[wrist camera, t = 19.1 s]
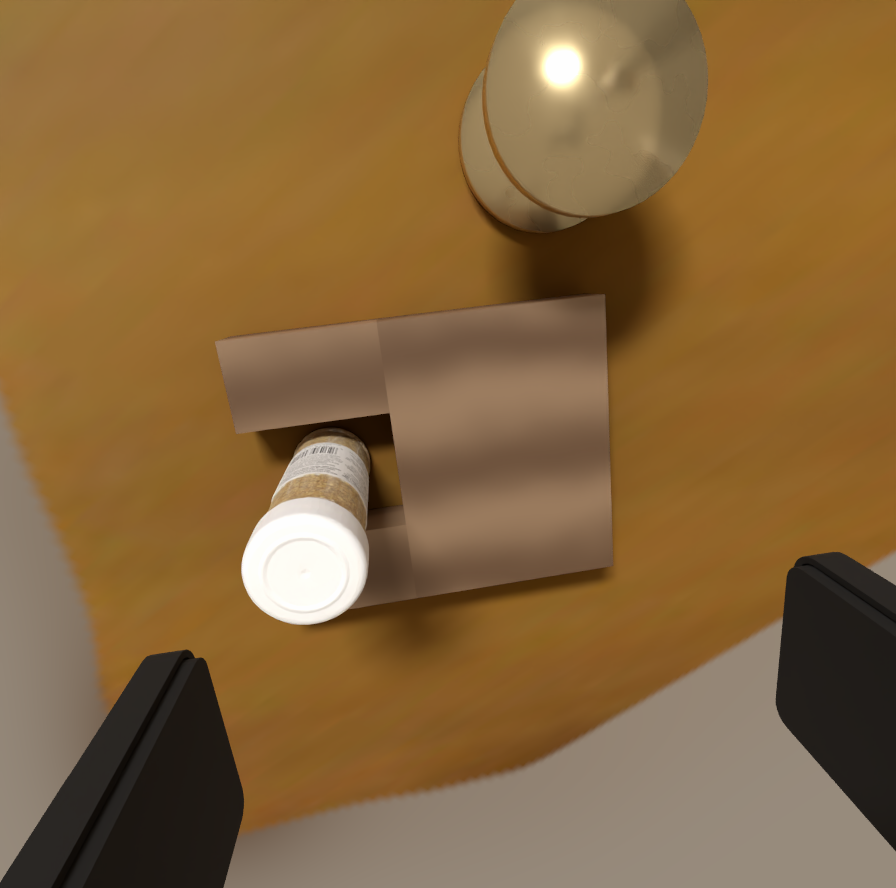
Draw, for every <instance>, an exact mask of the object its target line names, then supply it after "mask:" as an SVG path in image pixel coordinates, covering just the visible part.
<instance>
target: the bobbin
mask: <svg viewBox="0 0 896 888" xmlns="http://www.w3.org/2000/svg"><path fill="white" fill-rule="evenodd" d="M707 89H708V68H707V59H706V53H705V47H704V43H703V40H702V36H701V32H700V30H699V27H698V25H697V22H696V20H695V17H694V16H693V14H692V12H691V10H690V8H689V7H688V5H687V3H686V2H685V0H516V1H515V2H514V4H513V5H512V7H511V8H510V10H509V12H508V13H507V15H506V16H505V18H504V20H503V23H502V25H501V27H500V29H499V31H498V33H497V35H496V38H495V40H494V42H493V44H492V47H491V50H490V53H489V56H488V59H487V63H486V67H485V68H484V70H483V71H482V72H481V74H480V75H479V77H478V78H477V80H476V81H475V83H474V85H473V87H472V89H471V91H470V94H469V96H468V98H467V100H466V102H465V105H464V109H463V112H462V115H461V120H460V125H459V137H458V142H459V155H460V162H461V166H462V170H463V173H464V176H465V179H466V181H467V183H468V186H469V188H470V189H471V191H472V193H473V195H474V196H475V198H476V199H477V200H478V202H479V203H480V204H481V206H482V207H483V208H484V209H485V210H486V211H487V212H488V213H489V214H490V215H492V216H493V217H494V218H495V219H497V220H498V221H500V222H502V223H503V224H505V225H507V226H509V227H512V228H514V229H516V230H520V231H524V232H530V233H549V232H554V231H559V230H562V229H565V228H568V227H571V226H574V225H576V224H578V223H580V222H582V221H584V220H585V219H587V218H595V217H600V216H606V215H610V214H613V213H616V212H619V211H622V210H625V209H628V208H631V207H633V206H635V205H637V204H639V203H641V202H643V201H644V200H646V199H647V198H649V197H650V196H652V195H653V194H655V193H656V192H657V191H658V190H659V189H660V188H662V187H663V186H664V185H665V184H666V183H667V182H668V181H669V180H670V179H671V178H672V177H673V175H674V174H675V173H676V172H677V171H678V169H679V168H680V166H681V165H682V164H683V162H684V161H685V159H686V157H687V156H688V154H689V152H690V150H691V148H692V147H693V144H694V142H695V140H696V137H697V135H698V133H699V130H700V126H701V123H702V120H703V116H704V111H705V106H706V100H707Z"/></svg>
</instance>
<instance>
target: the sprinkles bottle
mask: <svg viewBox="0 0 896 888" xmlns="http://www.w3.org/2000/svg"><path fill="white" fill-rule="evenodd" d="M369 473H370V456H369V452H368V450H367V448H366V446H365V444H364V443H363V442H362V441H361V440H360V439H359V438H358V437H357V436H356V435H354V434H353V433H351V432H349V431H346V430H344V429H341V428H330V427H329V428H324V429H318V430H315V431H314V432H312V433H310V434H308V435H307V436H306V437H305V438H304V439H303V440H302V441H301V442H300V443H299V444H298V446H297V448H296V450H295V453H294V456H293V459H292V460H291V462H290V464H289V465H288V467H287V469H286V471H285V473H284V475H283V477H282V479H281V481H280V483H279V485H278V487H277V489H276V491H275V493H274V495H273V498H272V502H271V506H270V508H269V511H268V512H267V513H266V514H265V515H264V516H263V517H262V519H261V520H260V521H259V522H258V524H257V525H256V527H255V529H254V531H253V533H252V535H251V537H250V539H249V542H248V544H247V546H246V549H245V552H244V555H243V559H242V578H243V582H244V586H245V588H246V590H247V592H248V595H249V596H250V597H251V599H252V601H253V602H254V603H255V604H256V605H257V606H258V607H259V608H260V609H261V610H262V611H264V612H265V613H267V614H268V615H270V616H272V617H273V618H276V619H278V620H281V621H284V622H287V623H291V624H298V625H309V624H317V623H321V622H325V621H328V620H330V619H333V618H335V617H337V616H339V615H340V614H342V613H343V612H345V611H346V610H347V609H349V608H350V607H351V606H352V605H353V604H354V602H355V601H356V600H357V599H358V597H359V596H360V594H361V592H362V590H363V588H364V586H365V583H366V579H367V574H368V565H369V544H368V540H367V536H366V533H365V530H366V525H367V509H368V489H369V477H368V475H369Z"/></svg>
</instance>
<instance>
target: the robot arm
mask: <svg viewBox="0 0 896 888" xmlns="http://www.w3.org/2000/svg"><path fill="white" fill-rule="evenodd" d="M776 706H777V710H778V713H779V716H780V718H781V719H782V721H783V723H784V724H785V725H786V727H787V728H788V729H789V730H790V731H791V733H792V734H793V735H794V736H795V737H796V738H797V739H798V740H799V742H800V743H801V744H802V745H803V746H804V747H805V748H806V749H807V751H808V752H809V753H810V754H811V755H812V756H813V758H814V759H815V760H816V761H817V762H818V763H819V764H820V766H821V767H822V768H823V769H824V770H825V771H826V772H827V773H828V774H829V776H830V777H831V778H832V779H833V780H834V781H835V783H837V785H838V786H839V787H840V788H841V789H842V791H843V792H844V793H845V794H846V795H847V796H848V797H849V798H850V800H851V801H852V802H853V803H854V804H855V805H856V806H857V808H858V809H859V810H860V811H861V812H862V813H863V814H864V816H865V817H866V818H867V819H868V820H869V821H870V822H871V824H872V825H873V826H874V827H875V828H876V829H877V830H878V831H879V833H880V834H881V835H882V836H883V837H884V838H885V839H886V840H887V842H888V843H889V844H890V845H891V846H892V847H893V849H894V850H895V851H896V586H895V585H894V584H892V583H891V582H889V581H888V580H886V579H884V578H883V577H881V576H879V575H878V574H876V573H874V572H873V571H871V570H870V569H868V568H866V567H865V566H863V565H861V564H860V563H858V562H856V561H855V560H853V559H852V558H850V557H848V556H847V555H845V554H842V553H840V552H831V553H824V554H817V555H811V556H804V557H801V558H799V559H798V560H797V561H796V563H795V566H794V567H793V568H791V569H790V570H789V572H788V574H787V580H786V591H785V602H784V613H783V625H782V636H781V647H780V658H779V669H778V680H777V691H776ZM243 809H244V796H243V789H242V786H241V782H240V779H239V775H238V771H237V768H236V764H235V761H234V757H233V754H232V750H231V747H230V743H229V740H228V736H227V733H226V729H225V726H224V722H223V719H222V715H221V712H220V708H219V705H218V701H217V698H216V694H215V691H214V687H213V684H212V680H211V677H210V673H209V669H208V666H207V663H206V661H205V660H204V659H203V658H195V657H194V655H193V654H192V652H191V651H189V650H181V651H175V652H168V653H161V654H155V655H150V656H147V657H146V658H145V659H144V660H143V661H142V663H141V664H140V666H139V668H138V669H137V671H136V672H135V674H134V675H133V677H132V678H131V680H130V682H129V683H128V685H127V686H126V688H125V689H124V691H123V692H122V694H121V696H120V697H119V699H118V700H117V702H116V703H115V705H114V707H113V708H112V710H111V711H110V713H109V714H108V716H107V717H106V719H105V721H104V722H103V724H102V725H101V727H100V729H99V730H98V732H97V733H96V735H95V736H94V738H93V739H92V741H91V743H90V744H89V746H88V747H87V749H86V750H85V752H84V753H83V755H82V756H81V758H80V760H79V761H78V763H77V764H76V766H75V767H74V769H73V770H72V772H71V774H70V775H69V776H68V778H67V779H66V781H65V782H64V784H63V785H62V787H61V788H60V790H59V792H58V793H57V795H56V796H55V798H54V800H53V801H52V803H51V804H50V806H49V807H48V809H47V810H46V812H45V813H44V815H43V817H42V818H41V820H40V822H39V823H38V824H37V826H36V827H35V829H34V831H33V832H32V834H31V835H30V837H29V838H28V840H27V841H26V843H25V845H24V846H23V848H22V849H21V851H20V852H19V854H18V856H17V857H16V859H15V860H14V862H13V864H12V865H11V866H10V868H9V869H8V871H7V873H6V874H5V876H4V877H3V879H2V881H1V882H0V888H223V887H224V883H225V880H226V875H227V872H228V869H229V864H230V861H231V858H232V854H233V850H234V846H235V843H236V839H237V835H238V832H239V828H240V824H241V821H242V816H243Z"/></svg>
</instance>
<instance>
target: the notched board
mask: <svg viewBox="0 0 896 888" xmlns="http://www.w3.org/2000/svg"><path fill="white" fill-rule="evenodd" d="M215 344H216V348H217V353H218V357H219V361H220V366H221V370H222V375H223V379H224V383H225V388H226V392H227V396H228V401H229V405H230V409H231V414H232V418H233V422H234V427H235V431H236V434H239V433H246V432H254V431H261V430H268V429H276V428H283V427H290V426H298V425H305V424H313V423H320V422H327V421H335V420H342V419H349V418H357V417H364V416H371V415H379V414H386V413H390V418H391V425H392V432H393V438H394V445H395V452H396V459H397V466H398V473H399V480H400V486H401V493H402V500H403V505H398V506H391V507H385V508H378V509H371V510H367V525H366V530H365V533H366V536H367V540H368V544H369V565H368V574H367V579H366V583H365V586H364V588H363V590H362V592H361V594H360V596H359V597H358V599H357V600H356V601H355V602H354V604H353V605H352V606H351V607H350V608H349V609H354V608H360V607H366V606H372V605H378V604H385V603H391V602H397V601H403V600H409V599H415V598H421V597H427V596H433V595H439V594H445V593H452V592H458V591H464V590H470V589H476V588H482V587H488V586H494V585H500V584H506V583H512V582H519V581H525V580H531V579H537V578H543V577H549V576H555V575H561V574H567V573H573V572H579V571H586V570H592V569H598V568H604V567H610V566H613V544H612V510H611V476H610V443H609V409H608V375H607V341H606V307H605V294H577V295H569V296H560V297H552V298H544V299H536V300H527V301H519V302H511V303H503V304H495V305H486V306H478V307H470V308H462V309H453V310H445V311H437V312H429V313H420V314H412V315H404V316H396V317H388V318H379V319H371V320H363V321H355V322H346V323H338V324H330V325H322V326H314V327H305V328H297V329H289V330H281V331H272V332H264V333H256V334H248V335H240V336H231V337H228V338H225V339H222V340H219V341H216V342H215ZM347 610H348V609H347ZM279 621H281V620H279Z"/></svg>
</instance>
